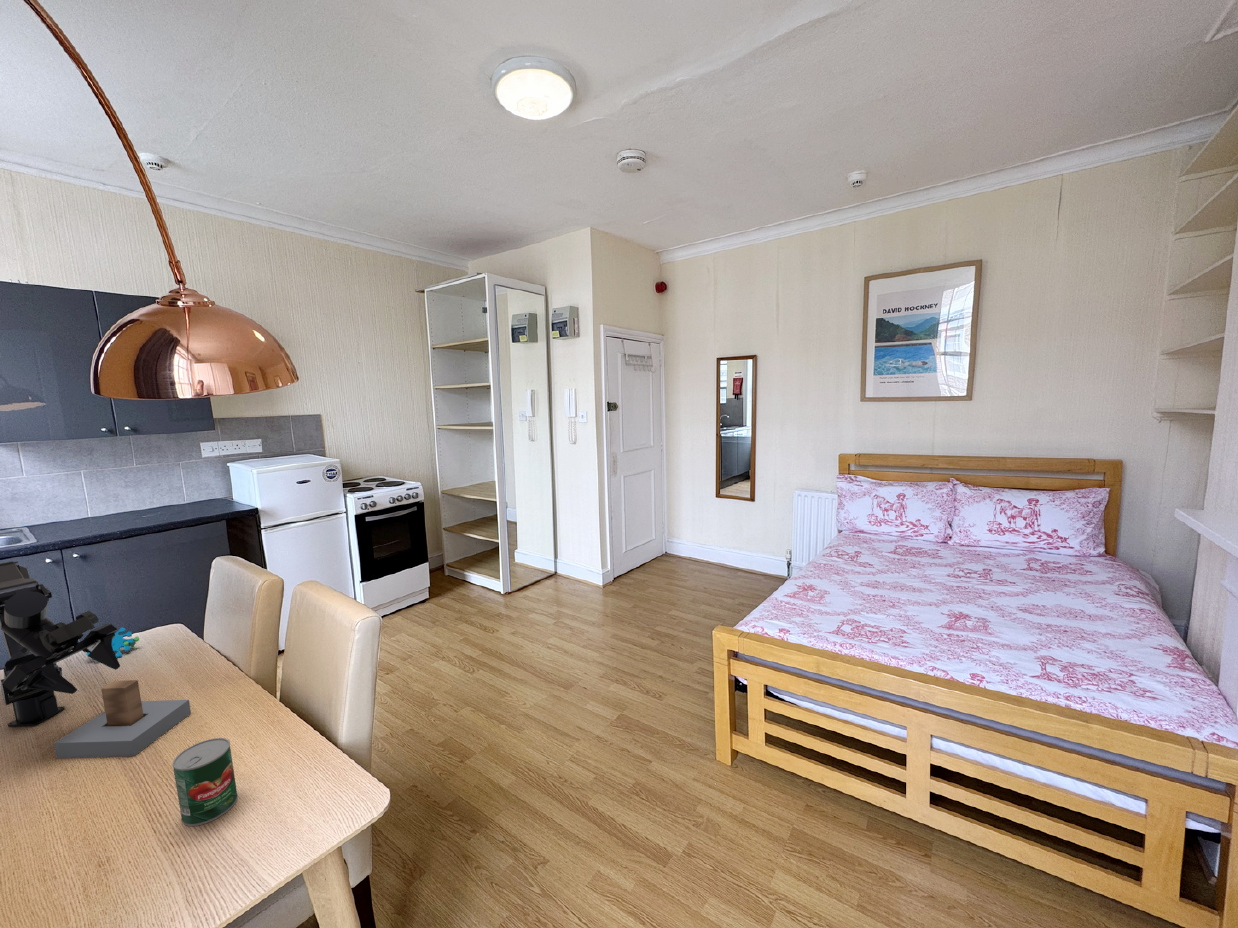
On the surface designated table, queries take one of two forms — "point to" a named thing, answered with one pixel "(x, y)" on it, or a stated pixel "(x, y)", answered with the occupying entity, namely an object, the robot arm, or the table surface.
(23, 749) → the table surface
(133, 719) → the walnut peg
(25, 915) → the table surface
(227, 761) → the canned tomato
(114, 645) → the gear
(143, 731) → the socket block
